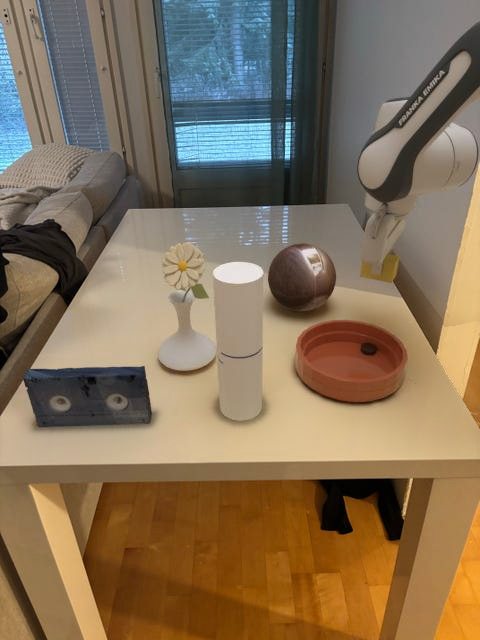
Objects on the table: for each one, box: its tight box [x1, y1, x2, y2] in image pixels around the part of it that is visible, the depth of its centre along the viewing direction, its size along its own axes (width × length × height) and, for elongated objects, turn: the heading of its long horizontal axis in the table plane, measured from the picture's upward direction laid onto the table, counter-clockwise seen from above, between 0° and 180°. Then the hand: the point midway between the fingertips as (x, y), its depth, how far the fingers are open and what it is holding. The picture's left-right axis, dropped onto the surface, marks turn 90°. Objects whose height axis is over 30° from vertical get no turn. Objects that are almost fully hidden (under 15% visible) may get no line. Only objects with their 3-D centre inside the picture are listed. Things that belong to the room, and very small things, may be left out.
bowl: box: [294, 319, 409, 403], centre depth 86 cm, size 20×20×5 cm
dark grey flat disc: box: [360, 343, 377, 355], centre depth 90 cm, size 3×3×1 cm
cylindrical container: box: [212, 261, 264, 422], centre depth 72 cm, size 7×7×25 cm
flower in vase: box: [157, 241, 217, 372], centre depth 84 cm, size 13×11×25 cm
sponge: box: [359, 254, 400, 284], centre depth 89 cm, size 6×4×4 cm, turn 62°
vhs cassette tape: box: [22, 365, 153, 428], centre depth 74 cm, size 18×3×10 cm, turn 90°
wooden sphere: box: [267, 243, 337, 312], centre depth 104 cm, size 15×15×15 cm
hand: (380, 267), depth 90 cm, fingers closed on sponge, 4 cm apart
